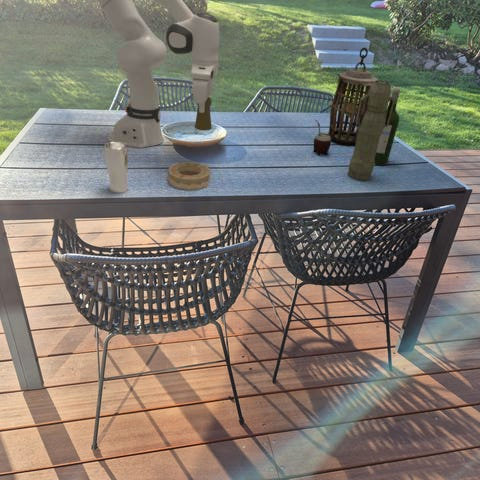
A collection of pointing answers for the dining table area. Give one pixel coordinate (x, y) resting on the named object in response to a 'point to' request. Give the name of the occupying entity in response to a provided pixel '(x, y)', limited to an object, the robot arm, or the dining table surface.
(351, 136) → the lantern
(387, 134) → the wine bottle
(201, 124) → the dark brown rounded piece
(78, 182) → the dining table surface
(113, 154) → the beer glass
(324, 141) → the mate gourd
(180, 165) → the tan faceted ring
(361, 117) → the thermos
